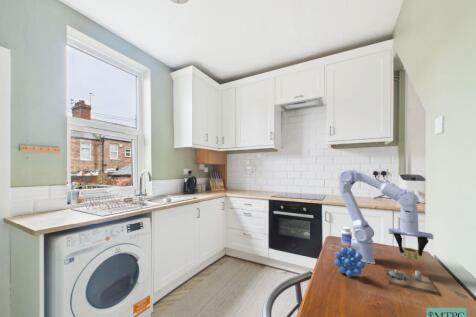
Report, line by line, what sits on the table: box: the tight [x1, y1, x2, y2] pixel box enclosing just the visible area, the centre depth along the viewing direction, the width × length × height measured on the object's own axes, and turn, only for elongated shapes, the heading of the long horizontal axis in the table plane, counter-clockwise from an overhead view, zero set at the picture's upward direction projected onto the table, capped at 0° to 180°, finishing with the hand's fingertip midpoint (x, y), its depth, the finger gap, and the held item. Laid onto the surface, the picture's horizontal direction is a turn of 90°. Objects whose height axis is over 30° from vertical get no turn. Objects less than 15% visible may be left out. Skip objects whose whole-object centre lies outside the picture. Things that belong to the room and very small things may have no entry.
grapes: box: [334, 246, 366, 278], centre depth 83 cm, size 12×7×12 cm, turn 39°
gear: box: [401, 246, 421, 261], centre depth 85 cm, size 6×7×3 cm
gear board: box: [383, 267, 439, 296], centre depth 79 cm, size 14×12×4 cm
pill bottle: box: [340, 226, 353, 247], centre depth 118 cm, size 5×5×10 cm
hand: (410, 253), depth 85 cm, fingers closed on gear, 6 cm apart
